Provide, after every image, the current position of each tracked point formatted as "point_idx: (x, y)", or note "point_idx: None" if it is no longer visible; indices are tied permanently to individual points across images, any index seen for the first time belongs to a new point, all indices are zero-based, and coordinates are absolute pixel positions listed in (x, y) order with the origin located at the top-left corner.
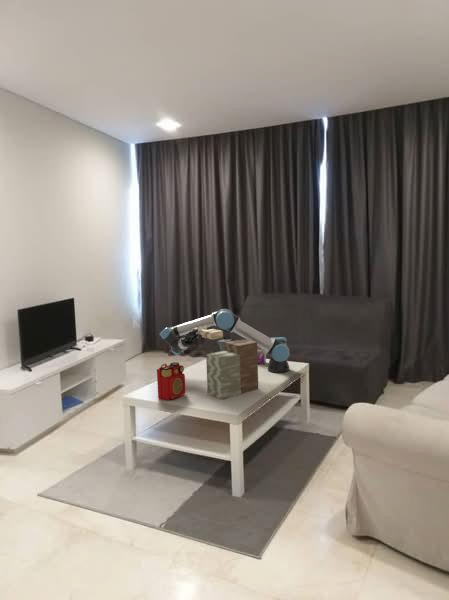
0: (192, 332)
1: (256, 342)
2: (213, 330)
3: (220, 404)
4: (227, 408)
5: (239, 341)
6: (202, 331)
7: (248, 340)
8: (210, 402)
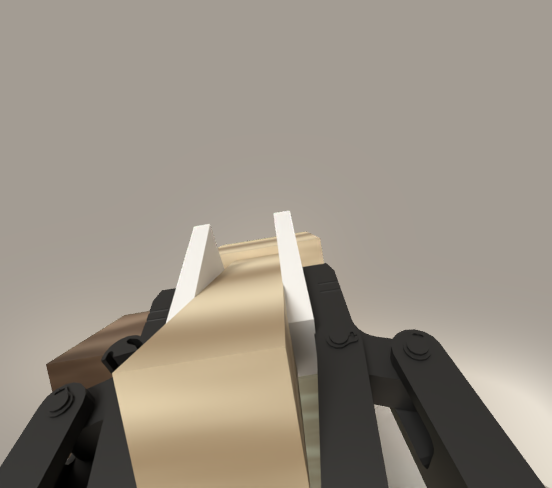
0: (380, 346)
1: (128, 315)
2: (247, 245)
3: (384, 445)
4: (376, 414)
5: (134, 334)
6: (320, 244)
7: (91, 336)
8: (415, 478)
